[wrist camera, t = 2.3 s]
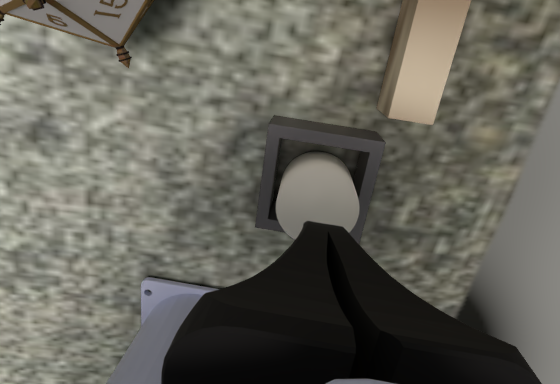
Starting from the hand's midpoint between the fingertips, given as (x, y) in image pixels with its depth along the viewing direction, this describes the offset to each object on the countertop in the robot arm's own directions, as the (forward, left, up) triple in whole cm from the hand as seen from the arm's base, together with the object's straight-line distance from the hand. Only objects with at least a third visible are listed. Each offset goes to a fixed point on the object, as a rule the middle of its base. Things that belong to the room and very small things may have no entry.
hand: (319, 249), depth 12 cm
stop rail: (+9, -3, -9) cm, 13 cm away
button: (0, 0, -6) cm, 6 cm away
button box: (0, 0, -9) cm, 9 cm away
